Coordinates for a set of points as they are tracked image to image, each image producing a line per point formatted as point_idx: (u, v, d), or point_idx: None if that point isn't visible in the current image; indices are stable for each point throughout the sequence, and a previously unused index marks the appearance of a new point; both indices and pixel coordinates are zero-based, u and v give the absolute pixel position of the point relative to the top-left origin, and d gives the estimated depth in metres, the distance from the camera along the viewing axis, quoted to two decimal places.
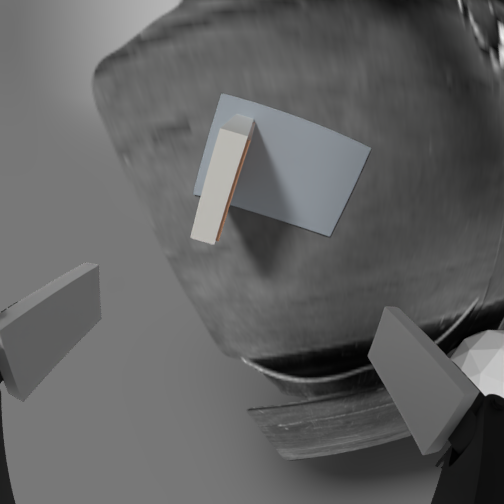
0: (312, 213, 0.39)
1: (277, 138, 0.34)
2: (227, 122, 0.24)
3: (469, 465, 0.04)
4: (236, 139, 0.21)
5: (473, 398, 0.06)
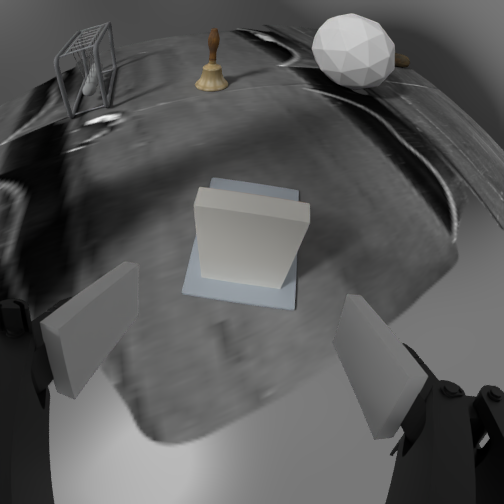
0: None
1: None
2: (196, 232, 0.28)
3: (421, 457, 0.04)
4: (203, 193, 0.25)
5: (421, 382, 0.07)
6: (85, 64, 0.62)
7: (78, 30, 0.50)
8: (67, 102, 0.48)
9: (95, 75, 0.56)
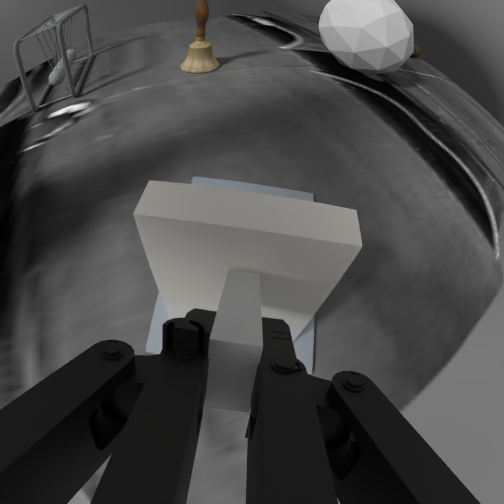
0: None
1: None
2: (150, 265, 0.15)
3: (258, 447, 0.05)
4: (153, 191, 0.12)
5: (257, 352, 0.08)
6: (59, 53, 0.49)
7: (51, 15, 0.37)
8: (29, 93, 0.35)
9: None
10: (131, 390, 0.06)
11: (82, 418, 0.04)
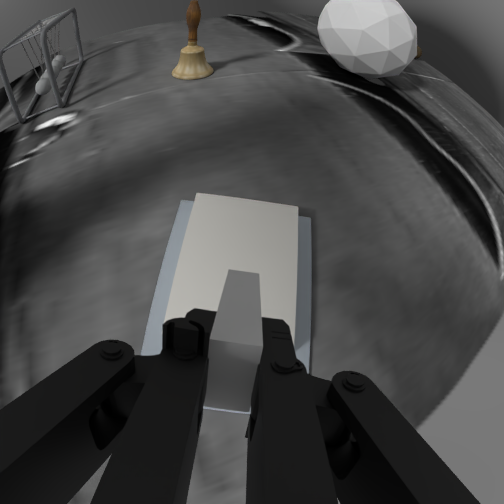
0: None
1: None
2: None
3: (258, 447, 0.05)
4: None
5: (256, 352, 0.08)
6: None
7: None
8: (14, 104, 0.33)
9: (53, 69, 0.41)
10: (131, 390, 0.06)
11: (82, 418, 0.04)
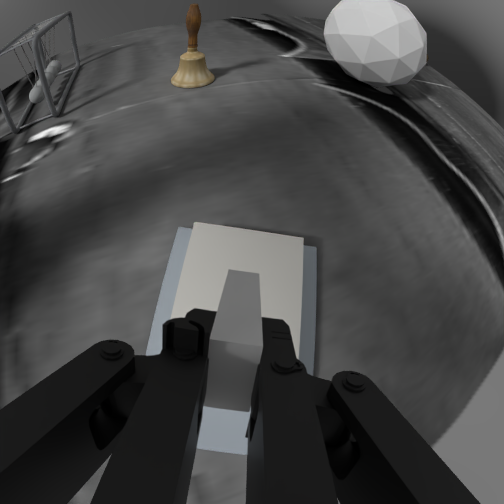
0: None
1: None
2: None
3: (258, 446, 0.05)
4: None
5: (256, 352, 0.08)
6: (44, 64, 0.45)
7: None
8: (7, 114, 0.31)
9: (48, 76, 0.39)
10: (131, 390, 0.06)
11: (82, 418, 0.04)
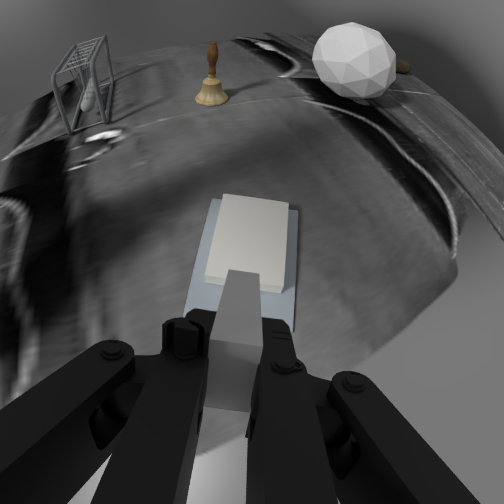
0: None
1: None
2: (218, 215, 0.41)
3: (258, 447, 0.05)
4: None
5: (256, 352, 0.08)
6: (82, 78, 0.64)
7: (74, 44, 0.52)
8: (66, 119, 0.50)
9: (93, 90, 0.58)
10: (131, 390, 0.06)
11: (82, 418, 0.04)
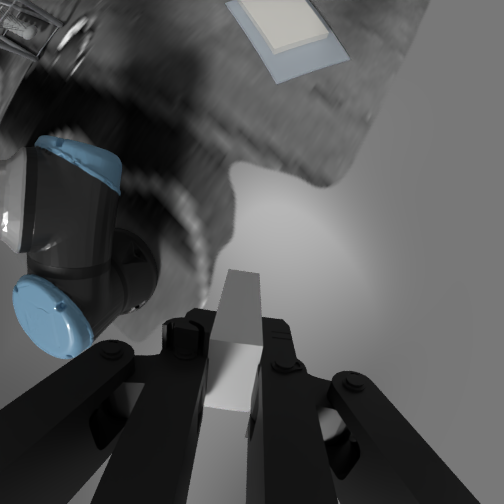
0: None
1: None
2: (247, 9, 0.34)
3: (258, 447, 0.05)
4: None
5: (256, 352, 0.08)
6: None
7: None
8: (27, 53, 0.33)
9: (20, 23, 0.31)
10: (131, 390, 0.06)
11: (82, 418, 0.04)
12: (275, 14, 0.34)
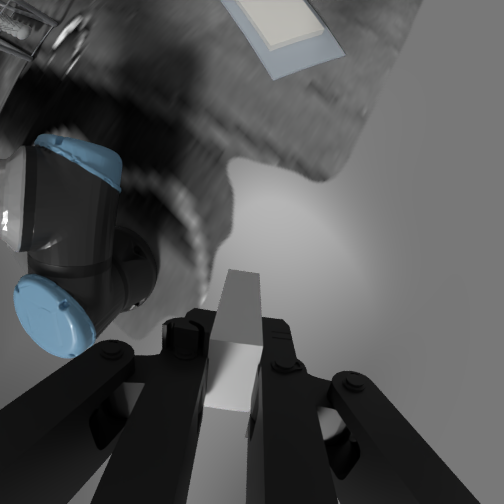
0: None
1: None
2: (243, 6, 0.34)
3: (258, 447, 0.05)
4: None
5: (256, 352, 0.08)
6: None
7: None
8: (21, 53, 0.32)
9: (14, 23, 0.29)
10: (131, 390, 0.06)
11: (82, 418, 0.04)
12: (271, 11, 0.34)
